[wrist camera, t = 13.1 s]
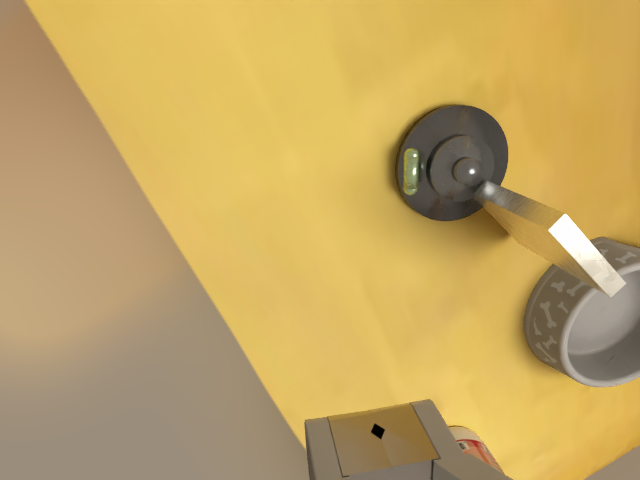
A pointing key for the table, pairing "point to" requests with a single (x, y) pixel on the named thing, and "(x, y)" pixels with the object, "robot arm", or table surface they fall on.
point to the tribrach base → (422, 143)
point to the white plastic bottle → (473, 445)
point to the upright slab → (517, 211)
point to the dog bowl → (588, 321)
